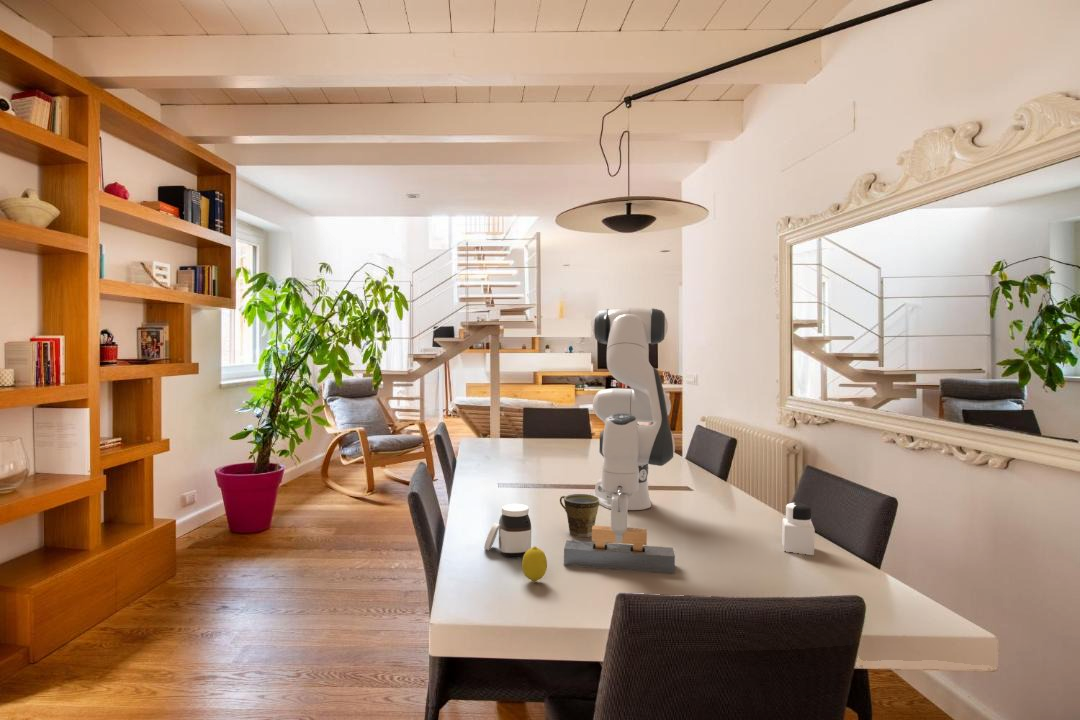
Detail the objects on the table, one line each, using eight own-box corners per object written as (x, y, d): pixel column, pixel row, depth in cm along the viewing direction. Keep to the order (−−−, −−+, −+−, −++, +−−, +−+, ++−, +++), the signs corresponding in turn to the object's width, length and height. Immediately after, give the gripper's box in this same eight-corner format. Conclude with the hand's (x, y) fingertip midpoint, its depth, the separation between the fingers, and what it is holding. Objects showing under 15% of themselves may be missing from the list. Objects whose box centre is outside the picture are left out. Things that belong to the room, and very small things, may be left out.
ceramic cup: (605, 533, 159) (606, 498, 159) (583, 542, 152) (584, 505, 152) (570, 523, 168) (571, 490, 168) (548, 530, 161) (548, 496, 161)
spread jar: (534, 558, 140) (535, 512, 139) (489, 563, 136) (490, 515, 136) (522, 542, 151) (522, 499, 151) (480, 546, 148) (481, 501, 148)
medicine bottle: (810, 546, 151) (811, 502, 151) (814, 556, 145) (815, 509, 144) (781, 543, 154) (783, 499, 154) (784, 552, 147) (785, 506, 147)
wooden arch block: (591, 557, 136) (591, 529, 136) (592, 553, 139) (592, 525, 139) (646, 561, 134) (646, 532, 134) (645, 557, 137) (646, 528, 137)
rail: (563, 565, 136) (564, 548, 136) (566, 556, 142) (566, 540, 142) (674, 573, 132) (674, 556, 132) (672, 563, 138) (672, 547, 138)
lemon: (521, 577, 128) (521, 542, 128) (545, 577, 129) (546, 542, 128) (522, 587, 123) (523, 551, 122) (547, 587, 123) (548, 550, 123)
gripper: (633, 493, 126) (632, 555, 126) (632, 473, 146) (631, 526, 146) (605, 491, 126) (604, 553, 127) (608, 472, 147) (607, 525, 147)
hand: (618, 538), depth 137 cm, fingers closed on wooden arch block, 3 cm apart
